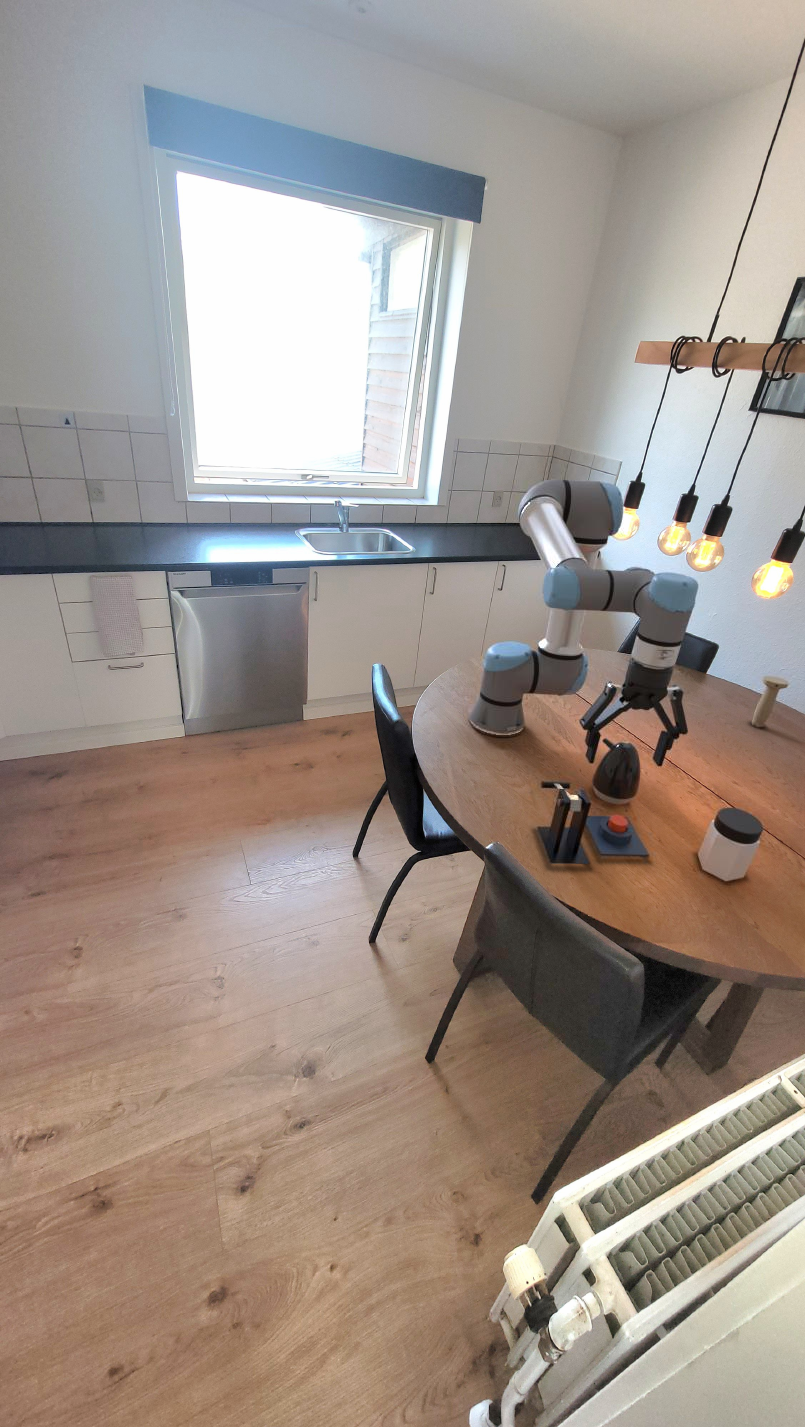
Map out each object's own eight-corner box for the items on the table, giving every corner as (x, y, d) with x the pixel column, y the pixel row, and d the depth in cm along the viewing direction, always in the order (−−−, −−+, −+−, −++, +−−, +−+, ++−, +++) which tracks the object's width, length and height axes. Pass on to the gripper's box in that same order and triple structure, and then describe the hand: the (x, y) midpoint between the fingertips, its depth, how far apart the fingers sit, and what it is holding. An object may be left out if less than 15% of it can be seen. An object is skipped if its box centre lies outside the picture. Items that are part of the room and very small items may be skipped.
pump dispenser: (597, 779, 144) (612, 726, 137) (639, 798, 139) (657, 743, 131) (580, 798, 137) (595, 742, 130) (623, 818, 131) (641, 761, 124)
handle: (770, 731, 172) (790, 685, 165) (746, 726, 174) (765, 681, 167) (767, 724, 176) (786, 679, 169) (744, 719, 178) (762, 674, 171)
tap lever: (540, 788, 126) (541, 778, 126) (567, 789, 127) (568, 779, 126) (560, 811, 114) (561, 799, 113) (590, 811, 114) (591, 800, 114)
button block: (580, 822, 129) (584, 807, 127) (624, 823, 130) (629, 808, 128) (599, 860, 119) (603, 845, 117) (646, 861, 119) (652, 846, 118)
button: (605, 822, 124) (607, 814, 123) (621, 822, 124) (624, 814, 123) (611, 833, 121) (613, 825, 120) (628, 833, 121) (630, 826, 120)
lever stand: (535, 831, 125) (547, 778, 119) (572, 832, 126) (586, 779, 119) (549, 868, 116) (563, 813, 109) (588, 869, 116) (605, 814, 110)
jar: (749, 867, 120) (771, 822, 114) (737, 888, 114) (759, 841, 109) (704, 845, 125) (723, 800, 119) (690, 864, 120) (709, 818, 114)
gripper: (590, 666, 101) (566, 769, 111) (730, 674, 103) (693, 774, 113) (578, 650, 108) (556, 748, 118) (709, 657, 109) (676, 753, 119)
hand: (623, 761), depth 115 cm, fingers open, 13 cm apart
